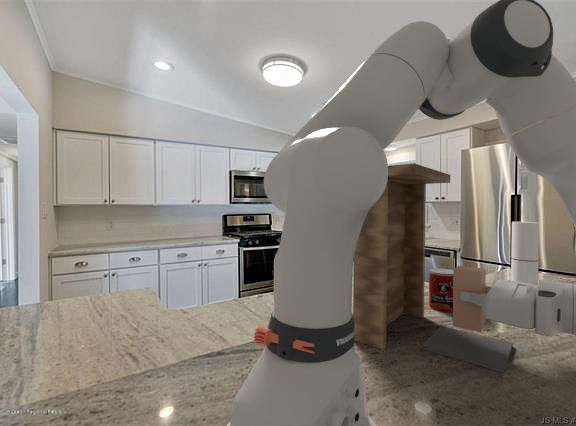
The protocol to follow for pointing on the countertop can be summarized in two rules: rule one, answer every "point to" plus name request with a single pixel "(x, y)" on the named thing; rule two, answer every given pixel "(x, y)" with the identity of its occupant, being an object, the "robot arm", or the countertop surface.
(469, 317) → the block
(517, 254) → the cylindrical container
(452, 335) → the mat
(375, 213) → the shelf
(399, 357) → the countertop surface
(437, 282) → the canned food
